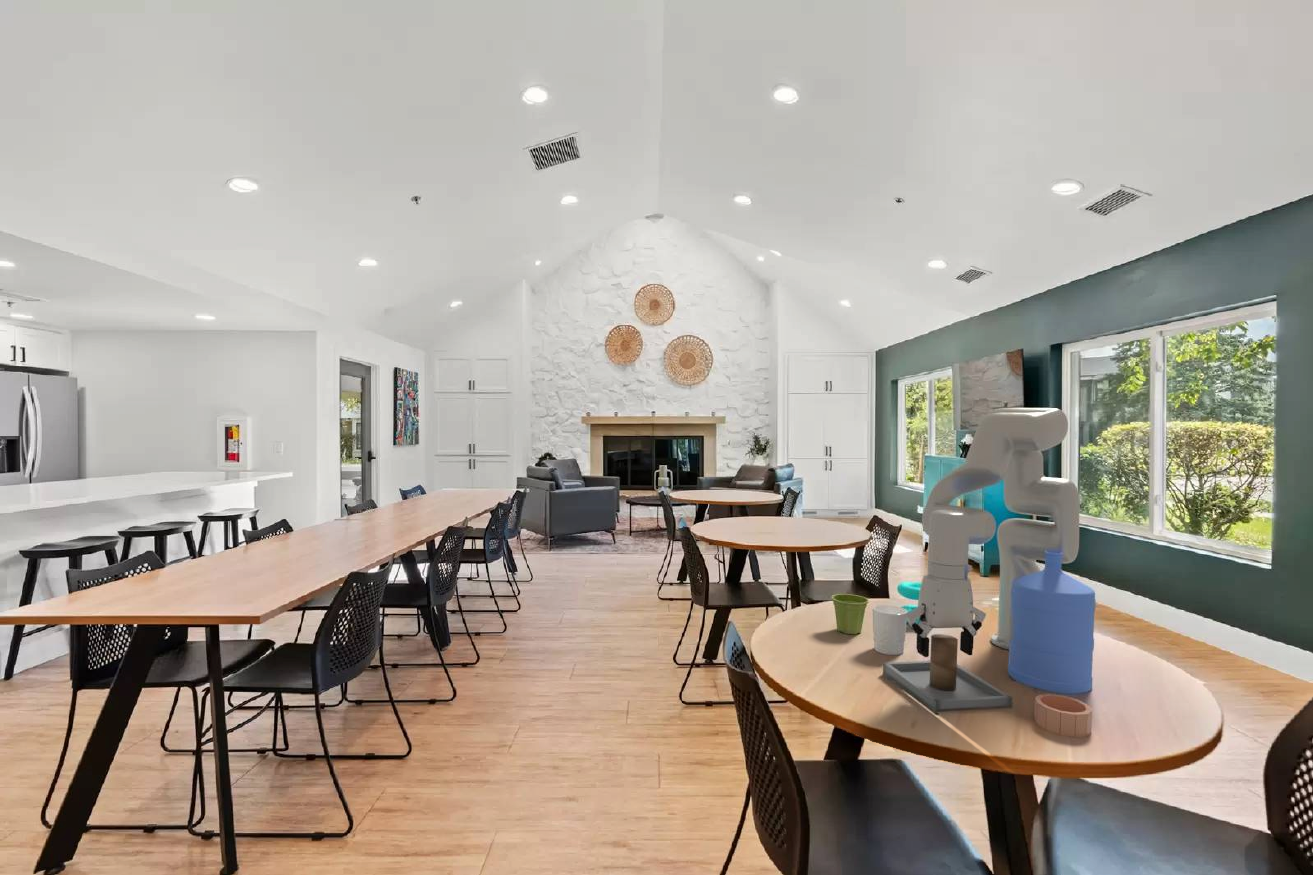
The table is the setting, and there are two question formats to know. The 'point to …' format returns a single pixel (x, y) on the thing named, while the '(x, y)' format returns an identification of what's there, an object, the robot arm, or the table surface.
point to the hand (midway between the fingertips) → (944, 653)
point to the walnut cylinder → (943, 662)
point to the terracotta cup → (1063, 715)
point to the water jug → (1052, 630)
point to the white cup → (889, 629)
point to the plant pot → (849, 612)
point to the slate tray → (965, 697)
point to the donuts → (910, 594)
